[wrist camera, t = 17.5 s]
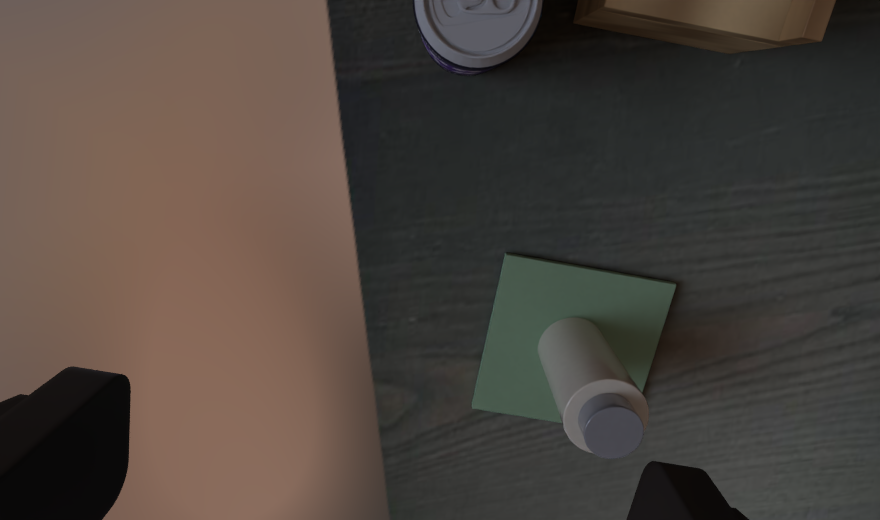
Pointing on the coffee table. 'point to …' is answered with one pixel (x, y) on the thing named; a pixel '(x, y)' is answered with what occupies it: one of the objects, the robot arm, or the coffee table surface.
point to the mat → (549, 300)
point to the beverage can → (476, 31)
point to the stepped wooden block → (712, 21)
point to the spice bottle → (592, 389)
